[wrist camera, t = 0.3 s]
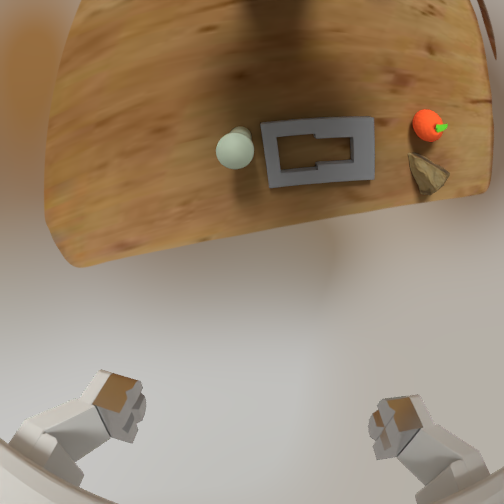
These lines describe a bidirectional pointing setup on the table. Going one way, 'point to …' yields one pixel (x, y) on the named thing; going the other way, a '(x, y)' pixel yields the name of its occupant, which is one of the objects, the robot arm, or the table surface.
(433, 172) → the rock
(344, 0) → the table surface
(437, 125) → the clementine
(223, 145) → the sage post
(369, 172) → the keyhole board
